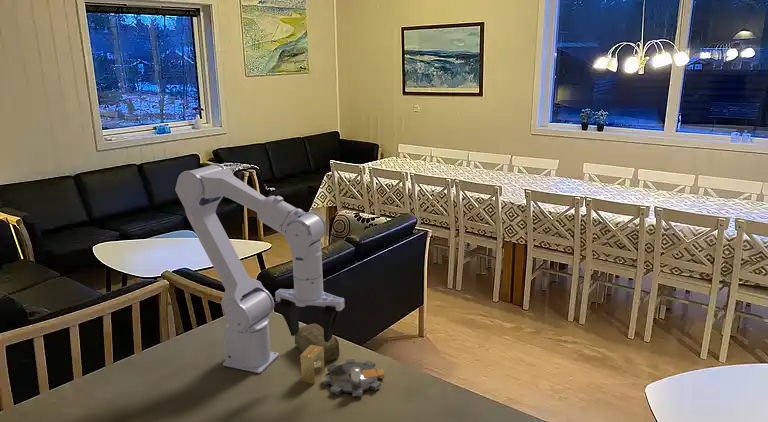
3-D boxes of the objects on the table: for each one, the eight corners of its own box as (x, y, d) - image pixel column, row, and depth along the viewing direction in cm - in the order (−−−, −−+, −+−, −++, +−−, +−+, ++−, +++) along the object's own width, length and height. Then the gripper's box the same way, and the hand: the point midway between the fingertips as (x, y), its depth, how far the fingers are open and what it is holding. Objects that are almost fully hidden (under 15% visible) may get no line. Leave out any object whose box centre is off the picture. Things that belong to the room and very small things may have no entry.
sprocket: (325, 399, 105) (324, 379, 104) (321, 365, 117) (320, 347, 116) (388, 392, 107) (388, 372, 106) (378, 359, 119) (378, 341, 118)
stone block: (319, 367, 117) (318, 346, 116) (293, 347, 126) (291, 327, 125) (341, 358, 121) (341, 338, 119) (314, 339, 129) (313, 320, 128)
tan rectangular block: (301, 381, 112) (300, 355, 110) (312, 369, 116) (310, 344, 114) (314, 384, 111) (313, 357, 109) (324, 372, 115) (323, 346, 113)
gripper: (265, 277, 106) (270, 340, 110) (332, 287, 101) (335, 352, 105) (283, 265, 113) (287, 324, 116) (347, 273, 108) (350, 335, 111)
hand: (311, 336), depth 111 cm, fingers open, 7 cm apart
